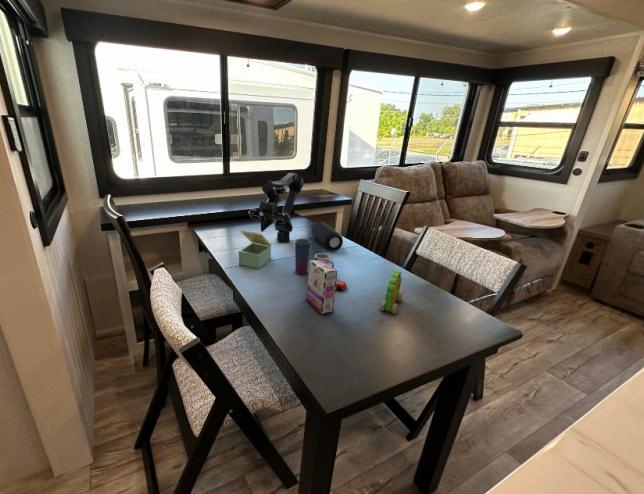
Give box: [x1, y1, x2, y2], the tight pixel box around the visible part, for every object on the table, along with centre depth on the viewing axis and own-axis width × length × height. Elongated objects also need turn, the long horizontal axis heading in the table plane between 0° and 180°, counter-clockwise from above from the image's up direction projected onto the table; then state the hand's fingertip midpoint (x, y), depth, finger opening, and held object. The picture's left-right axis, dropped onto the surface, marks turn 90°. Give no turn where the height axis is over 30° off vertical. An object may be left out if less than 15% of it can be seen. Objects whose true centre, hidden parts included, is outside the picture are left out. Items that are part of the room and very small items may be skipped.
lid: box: [240, 230, 272, 247], centre depth 146 cm, size 13×11×1 cm
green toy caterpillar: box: [379, 269, 404, 315], centre depth 112 cm, size 16×5×15 cm, turn 148°
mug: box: [313, 252, 335, 269], centre depth 141 cm, size 10×7×7 cm
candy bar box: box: [306, 259, 338, 315], centre depth 111 cm, size 11×5×16 cm, turn 23°
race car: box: [335, 278, 348, 292], centre depth 128 cm, size 13×5×4 cm, turn 63°
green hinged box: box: [238, 242, 272, 270], centre depth 148 cm, size 13×11×7 cm
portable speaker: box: [311, 221, 344, 251], centre depth 173 cm, size 26×10×10 cm, turn 13°
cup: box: [294, 238, 312, 276], centre depth 137 cm, size 7×7×15 cm
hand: (261, 231), depth 150 cm, fingers closed
